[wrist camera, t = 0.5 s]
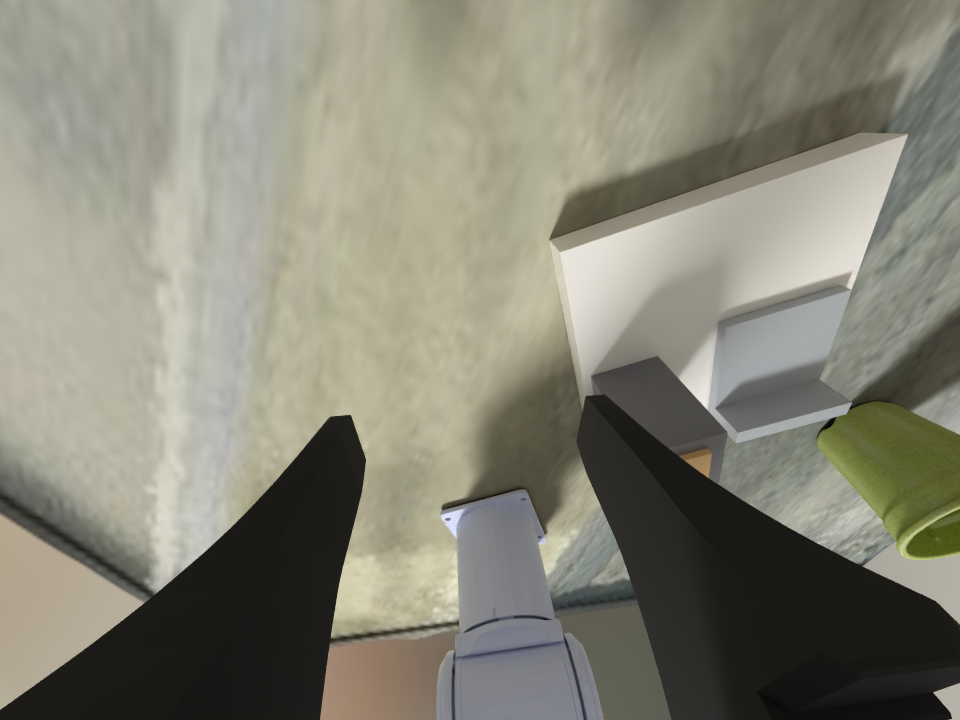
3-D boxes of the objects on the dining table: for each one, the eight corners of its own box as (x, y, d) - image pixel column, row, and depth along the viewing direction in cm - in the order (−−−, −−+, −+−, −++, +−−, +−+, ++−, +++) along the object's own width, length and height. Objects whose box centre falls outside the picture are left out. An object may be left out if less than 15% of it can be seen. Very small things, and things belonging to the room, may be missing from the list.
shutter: (807, 385, 22) (846, 414, 20) (707, 412, 23) (735, 443, 21) (841, 285, 18) (895, 307, 16) (718, 322, 19) (754, 348, 17)
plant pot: (789, 420, 28) (907, 522, 21) (924, 362, 25) (1111, 456, 18) (797, 474, 33) (896, 573, 25) (911, 430, 30) (1055, 526, 23)
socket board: (787, 381, 25) (811, 399, 23) (587, 437, 27) (596, 458, 25) (860, 132, 16) (908, 134, 14) (549, 240, 17) (560, 252, 16)
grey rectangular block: (658, 403, 22) (722, 488, 17) (597, 420, 23) (643, 507, 18) (657, 355, 20) (732, 437, 15) (590, 375, 20) (640, 461, 15)
